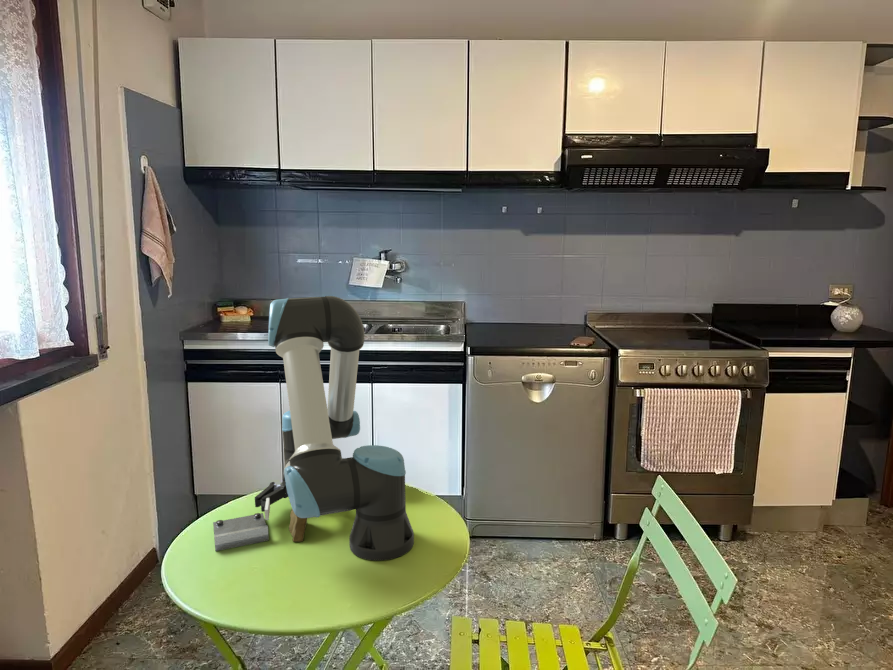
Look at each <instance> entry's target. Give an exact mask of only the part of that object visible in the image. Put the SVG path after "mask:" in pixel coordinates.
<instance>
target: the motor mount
mask: <svg viewBox="0 0 893 670" xmlns="http://www.w3.org/2000/svg"><path fill="white" fill-rule="evenodd" d="M212 525H213V538H214V550H215V552H219V551H222V550H228V549H233V548H238V547H243V546H248V545H252V544H258V543H263V542H268V541H269V539H270V538H269V527H268V525H267V523H266V520H265V514H264V513H263V512H260V513H259V512H257V513H254V514H250V515H245V516H240V517H234V518H229V519H223V520H222V519H219V520H216V521H213V522H212Z"/></svg>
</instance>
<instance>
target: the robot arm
mask: <svg viewBox="0 0 893 670" xmlns="http://www.w3.org/2000/svg"><path fill="white" fill-rule="evenodd" d="M267 337H268V338H267V341H268V343H267V344H268V346H269V347H273V348H274V349H275V353H276V354H277V355H278V356H279V357H281V358H282V360H283V366H284V367H283V369H284V375H285V382H286V390H287V397H288V406H289V410H287V411H285V412H284V413H283V414H282V418H281V419H282V420H281V421H282V424H281V425H282V428H281V430H282V440H283V441H282V442H283V443H282V444H283V461H284V466H283V467H284V468H283V477H282V482H281V483H280V484H276V482H275V481H272V482H269V485H268V486H267V487H266V488H264V489H263V490H261V492H260V493H258V494H257V495H256V496H255V497H254V505H255V508H259V507H260V509H261V510H260V511H261V513H263V512H264V519H265V521H269V520H270V513H271V512H270V511H271V505H273V504H276V503H277V502H278V501H280V500H282V499H287V498H288V501H289V504H290V506H291V510H292V509H293V511H294V513H295V515H296V516H298V517H299V518H307V519H308V518H309V519H310V518H320V516H321V517H322V516H325V515H327V516H328V515H331V514H337V513H342V512H349V511H354V510H355V517H354V520H353V523H352V527H351V531H350V533H349V538H348V539H349V549H350V551H351V553H352V554H353V555H355V556H356V557H358V558H360V559H363V560H368V561H378V562H379V561H387V560H393V559H397V558H399V557H402V556H404V555H406V554H407V553H408V552H410V550H412V548H413V547H414V543H415V538H414V535H415V534H414V529H413V526H412V524H411V522H410V519H409V515H408V513H407V507H406V504H407V503H406V502H407V501H406V473H407V472H406V467H405V459H404V456H403V455H402V453H401V452H400V451H398V450H397V449H394V448H392V447H389V446H384V445H378V444H377V445H376V444H375V445H374V444H373V445H372V444H370V445H362V446H359V447H357V448H355V449H354V450H353V453H352V457H347V458H346V457H345V458H344V457H342V451H341V449H340V448H338V447H337V446H335V444H334V443H333V440H335V439H345V438H346V439H347V438H349V437H350V438H351V437H354V436H358V435H359V433H360V431H361V420H360V415H359V413H358V411H356V410H354V408H355V398H356V389H357V375H358V369H359V358H360V357H359V356H360V350H361V349H362V348H363V347H364V344H365V328H364V324H363V321H362V318H361V316H360V315H359V313H358V311H356V309H355V308H354V306H352V305H351V304H350V303H349V302H348V301H346V300H344V299H343V298H340V297H337V296H333V295H326V296H312V297H308V296H307V297H294V298H293V297H292V298H290V297H286V298H280V299H274V300H273V301H271V303H270V304H269V313H268V336H267ZM324 343H327V344H328V346H329V348H330V361H329V362H330V363H329V374H328V375H329V380H328V394H327V398H326V391H325V386H324V380H323V373H322V368H321V365H322V364H321V360H320V353H321V351H323V348H324Z"/></svg>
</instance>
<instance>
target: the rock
mask: <svg viewBox="0 0 893 670" xmlns="http://www.w3.org/2000/svg"><path fill="white" fill-rule="evenodd" d="M289 515H290V518H289V519H290V522H289V525H288V531H289V533H290V535H291V537H292V542H297V543H298V542H299V543H301V542H303V541H304V537H305V531H306V527H307V524H308V518H299V517H298V516H296V515H295V513H294V511H293V509H292V508H291V511H290V514H289Z"/></svg>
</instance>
